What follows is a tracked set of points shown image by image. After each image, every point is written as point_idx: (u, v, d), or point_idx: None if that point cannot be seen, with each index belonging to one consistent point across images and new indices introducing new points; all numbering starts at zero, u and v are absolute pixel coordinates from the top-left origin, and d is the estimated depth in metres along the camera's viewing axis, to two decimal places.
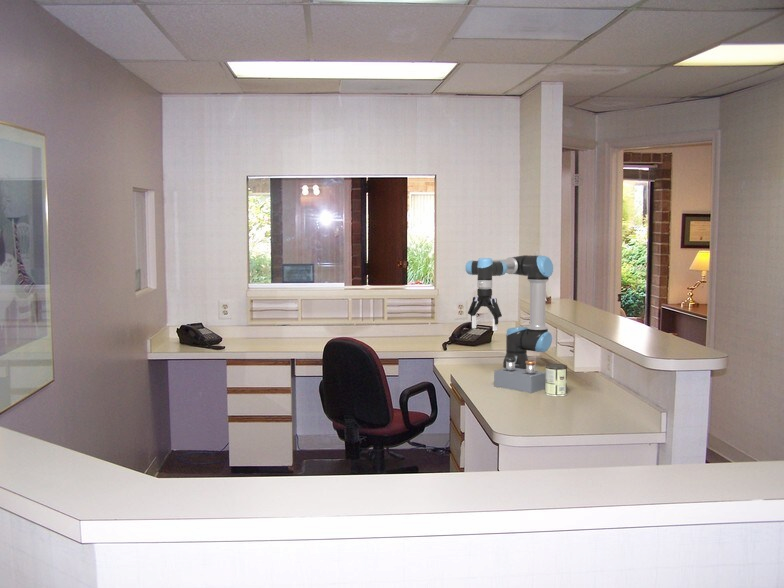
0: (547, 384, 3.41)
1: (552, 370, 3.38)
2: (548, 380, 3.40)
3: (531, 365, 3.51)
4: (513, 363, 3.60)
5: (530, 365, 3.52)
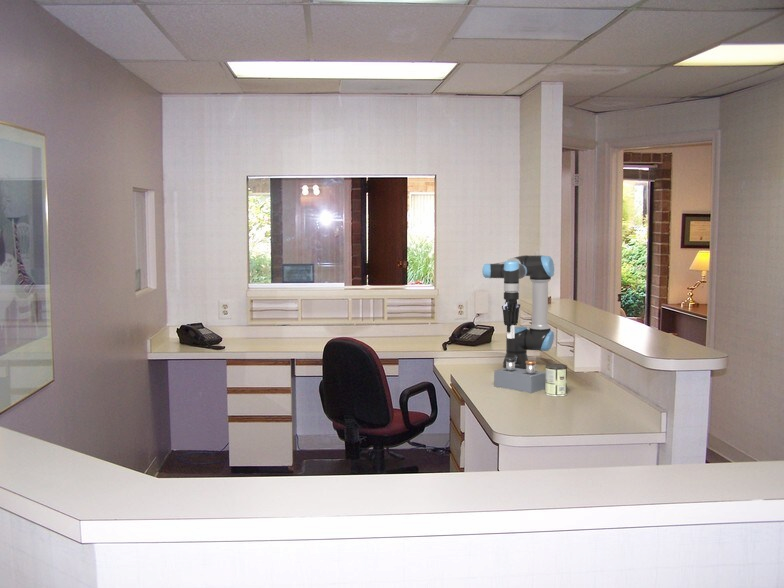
0: (547, 384, 3.41)
1: (552, 370, 3.38)
2: (548, 380, 3.40)
3: (531, 365, 3.51)
4: (513, 363, 3.60)
5: (530, 365, 3.52)
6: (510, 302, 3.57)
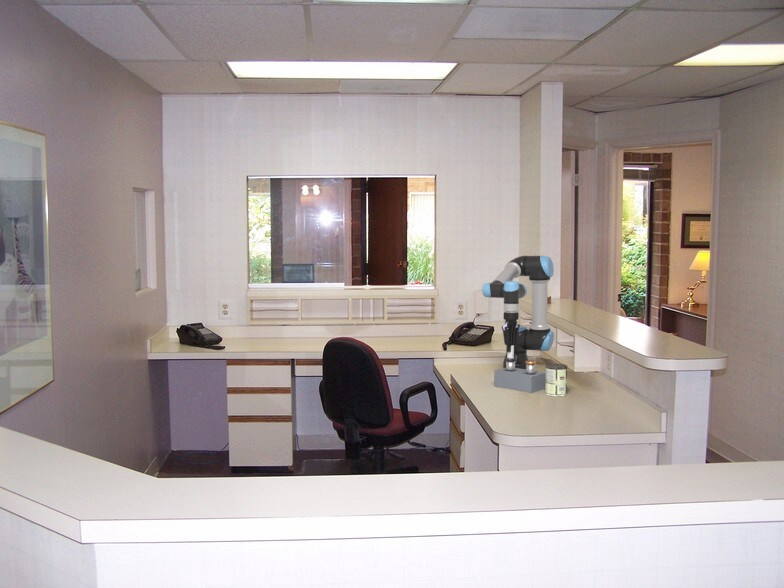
0: (547, 384, 3.41)
1: (552, 370, 3.38)
2: (548, 380, 3.40)
3: (531, 365, 3.51)
4: (513, 363, 3.60)
5: (530, 365, 3.52)
6: (510, 322, 3.58)
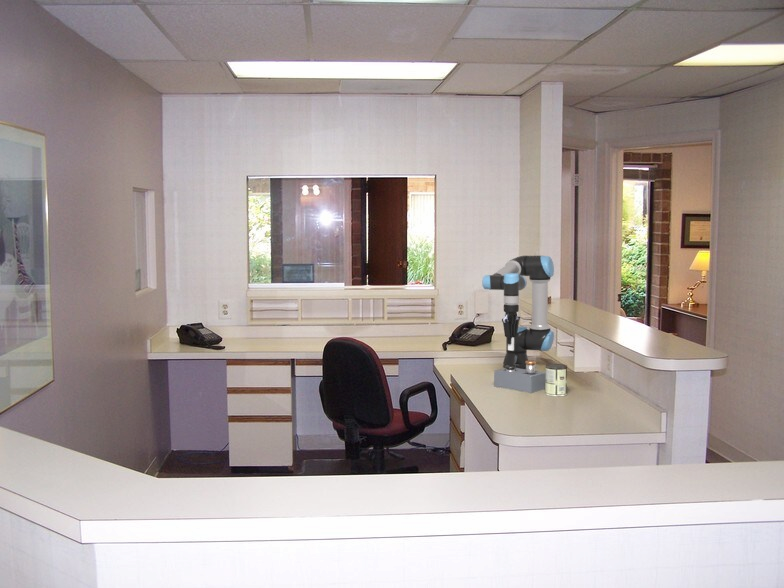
0: (547, 384, 3.41)
1: (552, 370, 3.38)
2: (548, 380, 3.40)
3: (531, 365, 3.51)
4: None
5: (530, 365, 3.52)
6: (510, 314, 3.58)
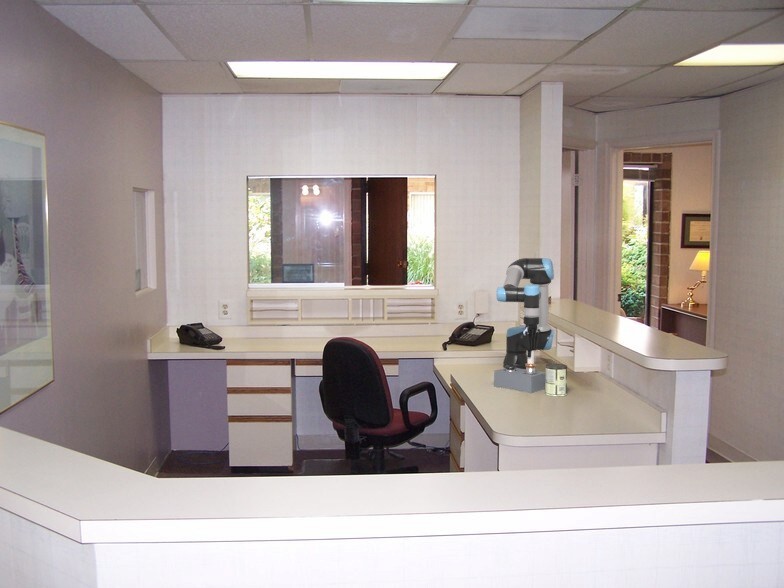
0: (547, 384, 3.41)
1: (552, 370, 3.38)
2: (548, 380, 3.40)
3: (531, 368, 3.52)
4: None
5: (530, 368, 3.52)
6: (530, 327, 3.50)
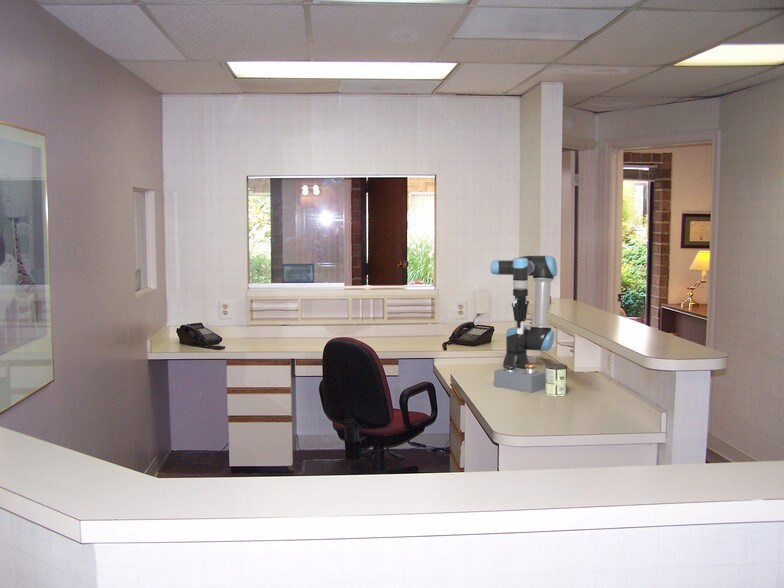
0: (547, 384, 3.41)
1: (552, 370, 3.38)
2: (548, 380, 3.40)
3: (531, 369, 3.52)
4: None
5: (530, 369, 3.52)
6: (519, 298, 3.63)
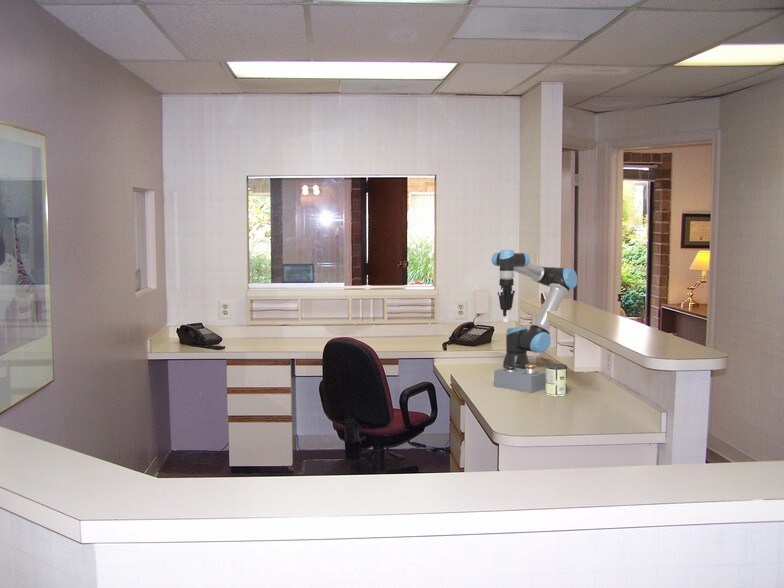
0: (547, 384, 3.41)
1: (552, 370, 3.38)
2: (548, 380, 3.40)
3: (531, 369, 3.52)
4: None
5: (530, 369, 3.52)
6: (505, 288, 3.83)
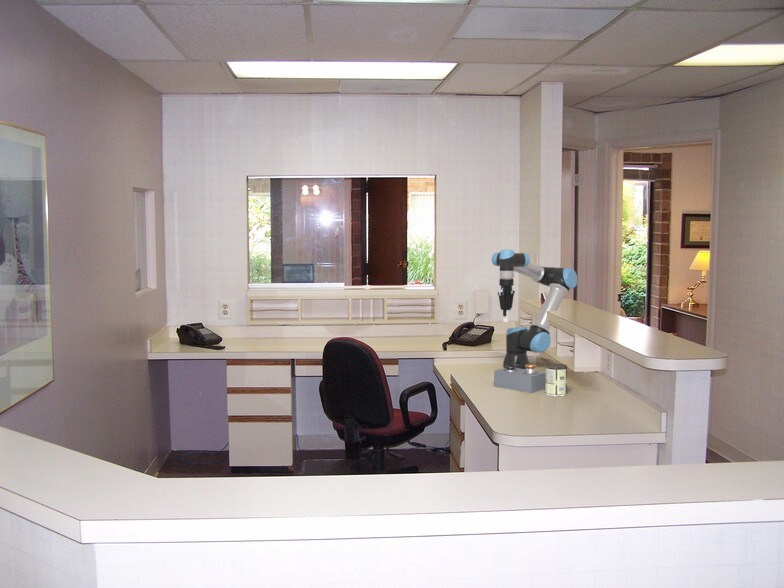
0: (547, 384, 3.41)
1: (552, 370, 3.38)
2: (548, 380, 3.40)
3: (531, 369, 3.52)
4: None
5: (530, 369, 3.52)
6: (505, 288, 3.83)
